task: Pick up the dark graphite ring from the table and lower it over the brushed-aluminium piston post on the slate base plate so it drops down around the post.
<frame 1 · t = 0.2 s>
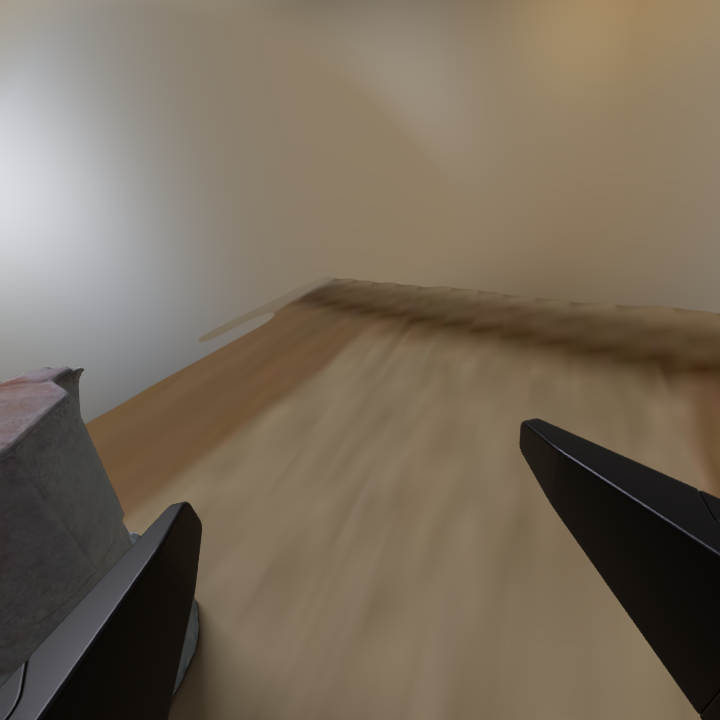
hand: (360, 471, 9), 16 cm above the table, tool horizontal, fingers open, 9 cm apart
moka pot: (126, 671, 20), on the table
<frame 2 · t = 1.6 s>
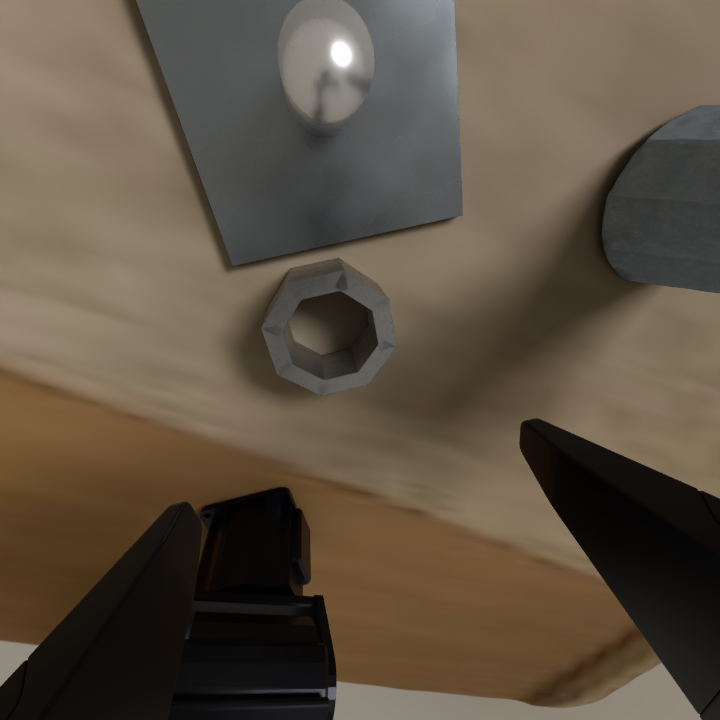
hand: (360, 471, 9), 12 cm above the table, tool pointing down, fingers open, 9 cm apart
moka pot: (657, 206, 20), on the table
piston: (320, 98, 15), on the table
ring: (328, 317, 20), on the table
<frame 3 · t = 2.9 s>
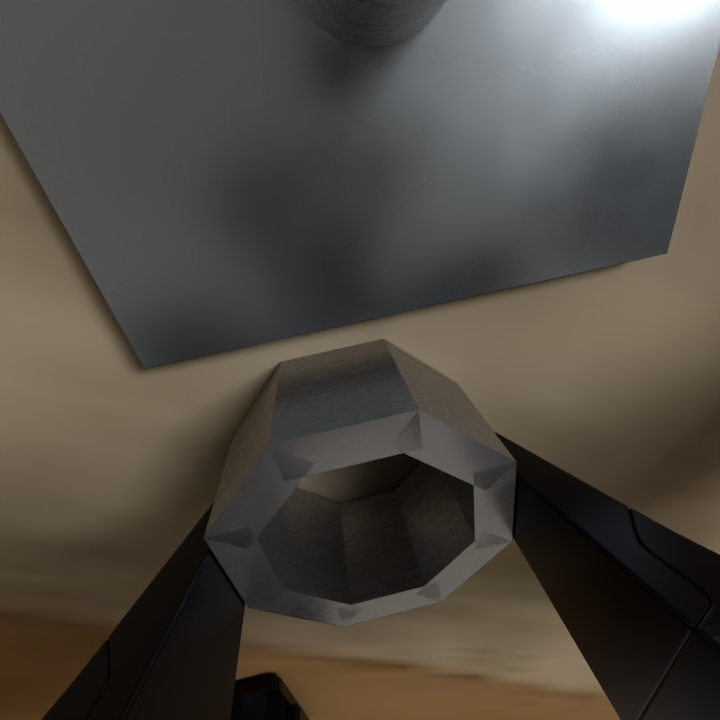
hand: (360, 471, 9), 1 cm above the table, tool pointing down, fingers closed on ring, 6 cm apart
ring: (355, 445, 10), on the table, touching gripper
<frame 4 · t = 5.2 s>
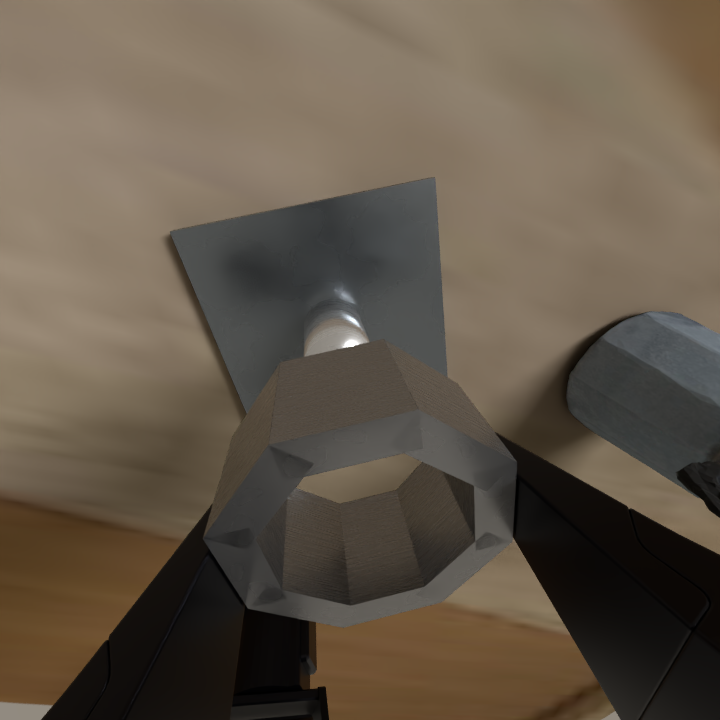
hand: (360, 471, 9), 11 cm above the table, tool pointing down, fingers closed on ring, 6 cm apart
moka pot: (615, 372, 23), on the table
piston: (332, 322, 18), on the table
ring: (355, 445, 10), point 10 cm above the table, touching gripper
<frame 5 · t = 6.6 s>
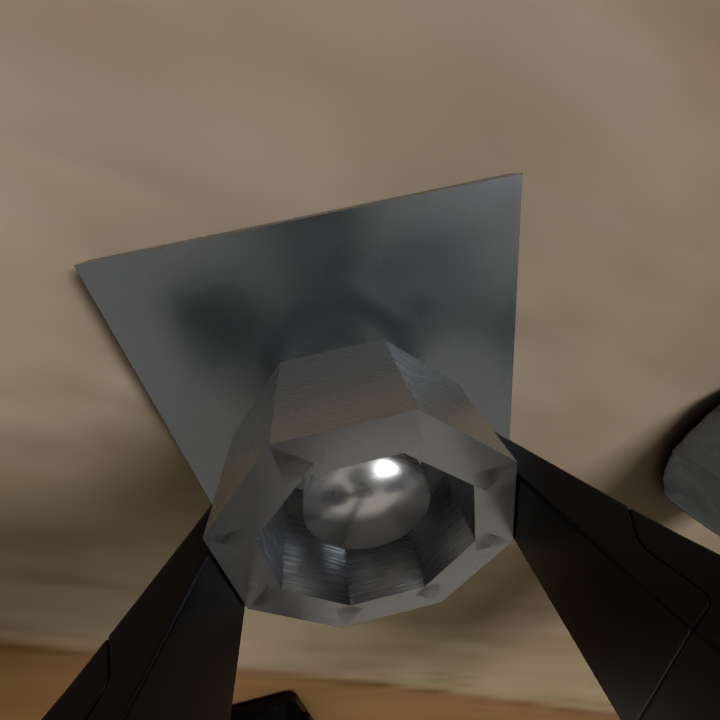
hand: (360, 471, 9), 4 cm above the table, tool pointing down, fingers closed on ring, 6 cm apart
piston: (345, 392, 12), on the table
ring: (355, 445, 10), point 3 cm above the table, touching gripper
when the fingers open (3 cm above the table, at t = 7.4 s): ring drops 1 cm, resting on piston.
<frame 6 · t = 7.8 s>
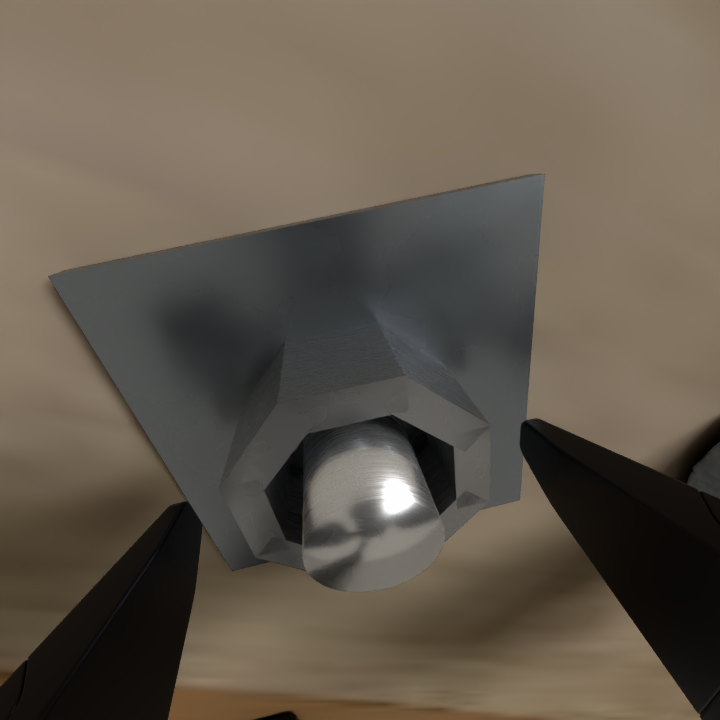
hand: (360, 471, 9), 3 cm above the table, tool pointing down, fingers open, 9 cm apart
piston: (348, 409, 11), on the table
ring: (351, 420, 11), point 1 cm above the table, touching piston
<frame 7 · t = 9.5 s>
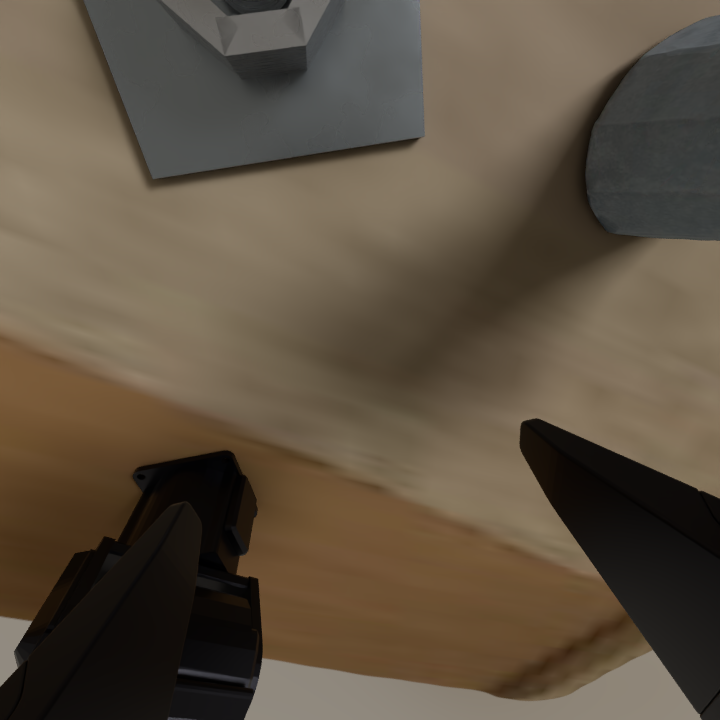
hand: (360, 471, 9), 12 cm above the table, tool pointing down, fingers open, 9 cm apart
moka pot: (651, 148, 17), on the table
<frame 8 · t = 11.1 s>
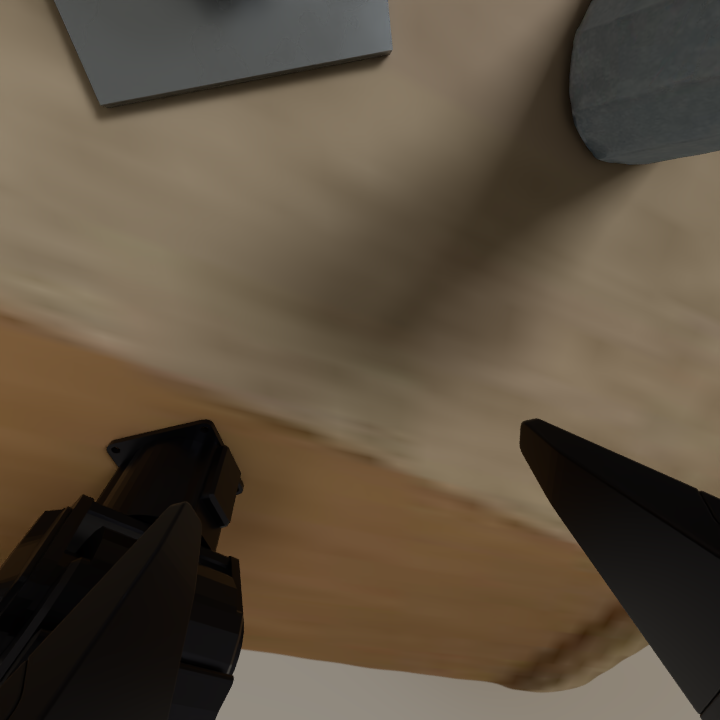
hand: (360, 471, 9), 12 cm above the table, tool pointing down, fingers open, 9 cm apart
moka pot: (638, 63, 16), on the table
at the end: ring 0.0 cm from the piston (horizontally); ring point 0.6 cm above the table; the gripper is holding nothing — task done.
